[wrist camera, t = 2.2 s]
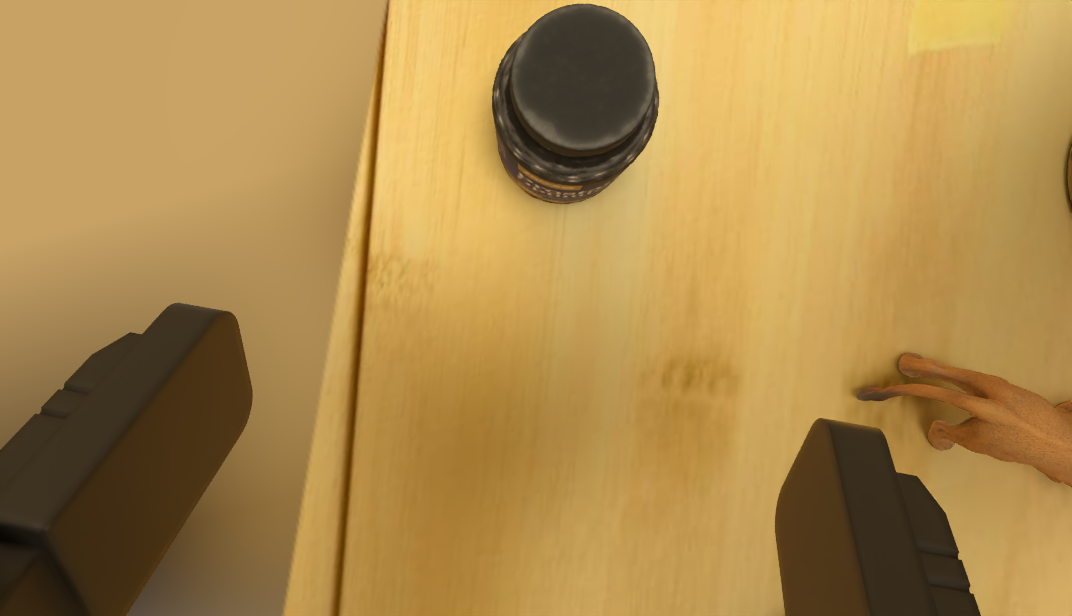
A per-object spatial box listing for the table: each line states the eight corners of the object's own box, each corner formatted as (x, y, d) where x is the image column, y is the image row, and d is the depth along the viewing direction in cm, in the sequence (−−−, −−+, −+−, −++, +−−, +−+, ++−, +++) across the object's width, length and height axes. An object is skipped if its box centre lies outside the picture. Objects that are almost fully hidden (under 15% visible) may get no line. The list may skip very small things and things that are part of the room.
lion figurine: (1155, 391, 35) (1371, 432, 26) (1132, 497, 35) (1339, 574, 26) (860, 342, 35) (977, 366, 26) (840, 449, 35) (949, 511, 26)
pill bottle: (509, 214, 34) (501, 187, 23) (488, 84, 34) (470, -6, 23) (637, 193, 34) (691, 156, 23) (618, 63, 34) (662, -36, 23)
